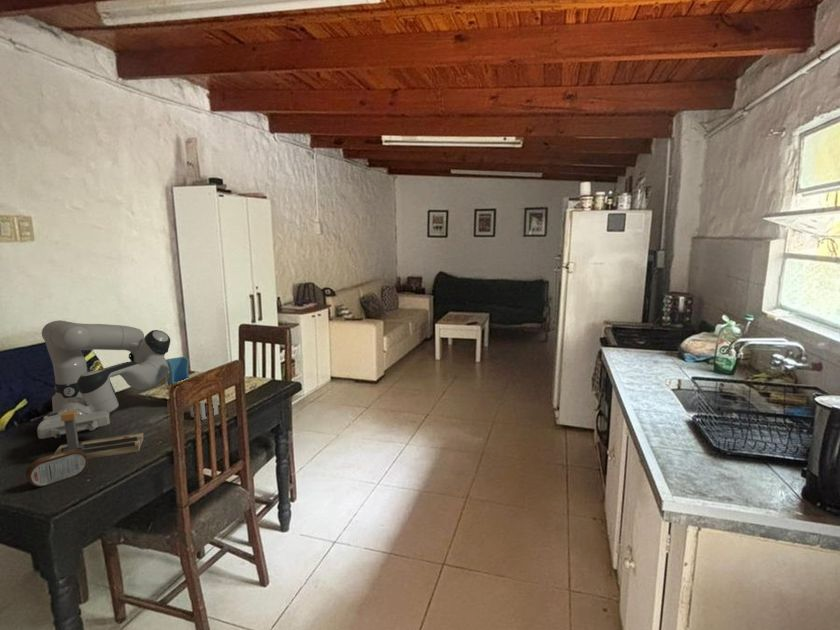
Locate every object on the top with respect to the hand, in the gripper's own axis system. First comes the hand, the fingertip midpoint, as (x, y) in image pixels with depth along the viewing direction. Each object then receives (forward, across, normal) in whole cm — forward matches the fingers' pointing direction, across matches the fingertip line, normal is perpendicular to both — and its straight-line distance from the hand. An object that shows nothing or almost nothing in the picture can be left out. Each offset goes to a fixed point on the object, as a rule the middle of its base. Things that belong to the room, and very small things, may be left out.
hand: (74, 431), depth 159 cm
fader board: (0, -6, -9) cm, 11 cm away
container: (-13, -42, -9) cm, 45 cm away
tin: (+17, +5, -9) cm, 20 cm away
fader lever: (+1, +1, -6) cm, 7 cm away
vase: (-35, -37, -9) cm, 52 cm away
